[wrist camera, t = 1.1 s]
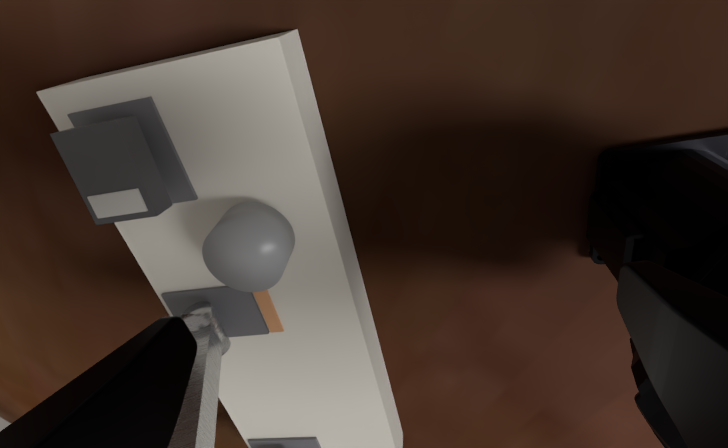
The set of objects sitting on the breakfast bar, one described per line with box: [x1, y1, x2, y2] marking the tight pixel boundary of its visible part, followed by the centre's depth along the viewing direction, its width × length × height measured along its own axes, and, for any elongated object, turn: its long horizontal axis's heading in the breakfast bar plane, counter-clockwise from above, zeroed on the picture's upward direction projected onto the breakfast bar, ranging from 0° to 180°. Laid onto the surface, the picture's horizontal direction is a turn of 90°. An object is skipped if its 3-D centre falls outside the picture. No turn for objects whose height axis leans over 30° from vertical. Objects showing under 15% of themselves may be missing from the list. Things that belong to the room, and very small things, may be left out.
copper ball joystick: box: [168, 301, 231, 448], centre depth 17 cm, size 3×3×12 cm
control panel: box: [36, 29, 403, 448], centre depth 25 cm, size 11×30×3 cm, turn 12°
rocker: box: [50, 115, 173, 225], centre depth 17 cm, size 3×4×1 cm
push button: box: [202, 202, 295, 292], centre depth 18 cm, size 4×4×2 cm
